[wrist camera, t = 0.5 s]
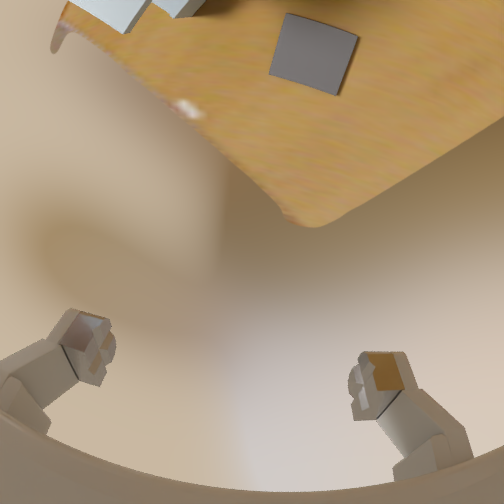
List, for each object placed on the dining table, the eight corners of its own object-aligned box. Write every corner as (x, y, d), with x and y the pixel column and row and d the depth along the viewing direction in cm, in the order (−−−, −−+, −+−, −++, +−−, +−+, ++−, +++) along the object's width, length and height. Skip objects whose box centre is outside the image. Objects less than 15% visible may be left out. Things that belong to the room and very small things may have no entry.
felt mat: (286, 13, 35) (286, 13, 34) (357, 36, 35) (357, 36, 35) (269, 73, 44) (268, 74, 43) (335, 95, 44) (335, 95, 43)
